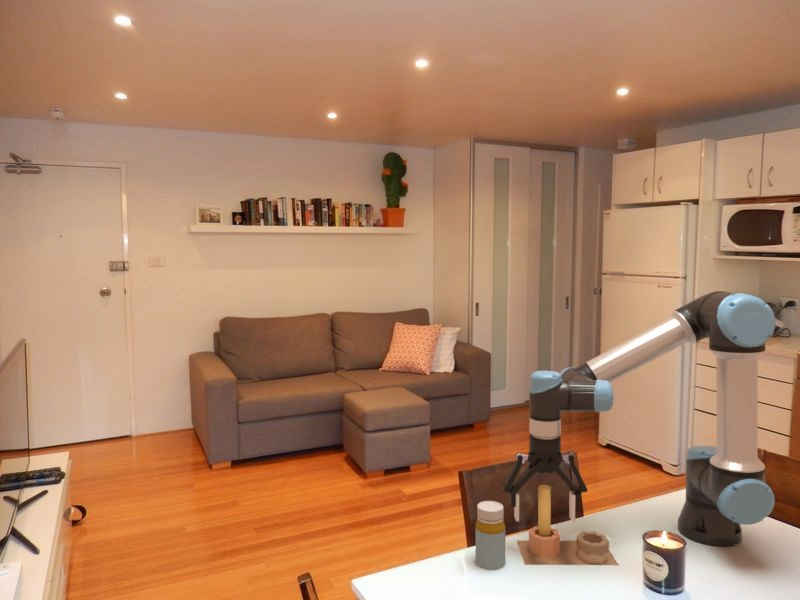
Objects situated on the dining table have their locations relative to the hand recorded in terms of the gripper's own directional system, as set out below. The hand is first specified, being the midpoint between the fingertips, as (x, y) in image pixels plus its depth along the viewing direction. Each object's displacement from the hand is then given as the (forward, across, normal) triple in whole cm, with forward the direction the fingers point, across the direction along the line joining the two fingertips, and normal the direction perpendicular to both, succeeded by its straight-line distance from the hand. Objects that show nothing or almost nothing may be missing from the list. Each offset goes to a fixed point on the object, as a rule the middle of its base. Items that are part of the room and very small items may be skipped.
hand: (544, 519), depth 148 cm
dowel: (+8, 0, 0) cm, 8 cm away
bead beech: (+8, -11, +3) cm, 14 cm away
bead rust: (+8, 0, 0) cm, 8 cm away
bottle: (+9, +14, +6) cm, 18 cm away
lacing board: (+9, -5, +1) cm, 10 cm away
